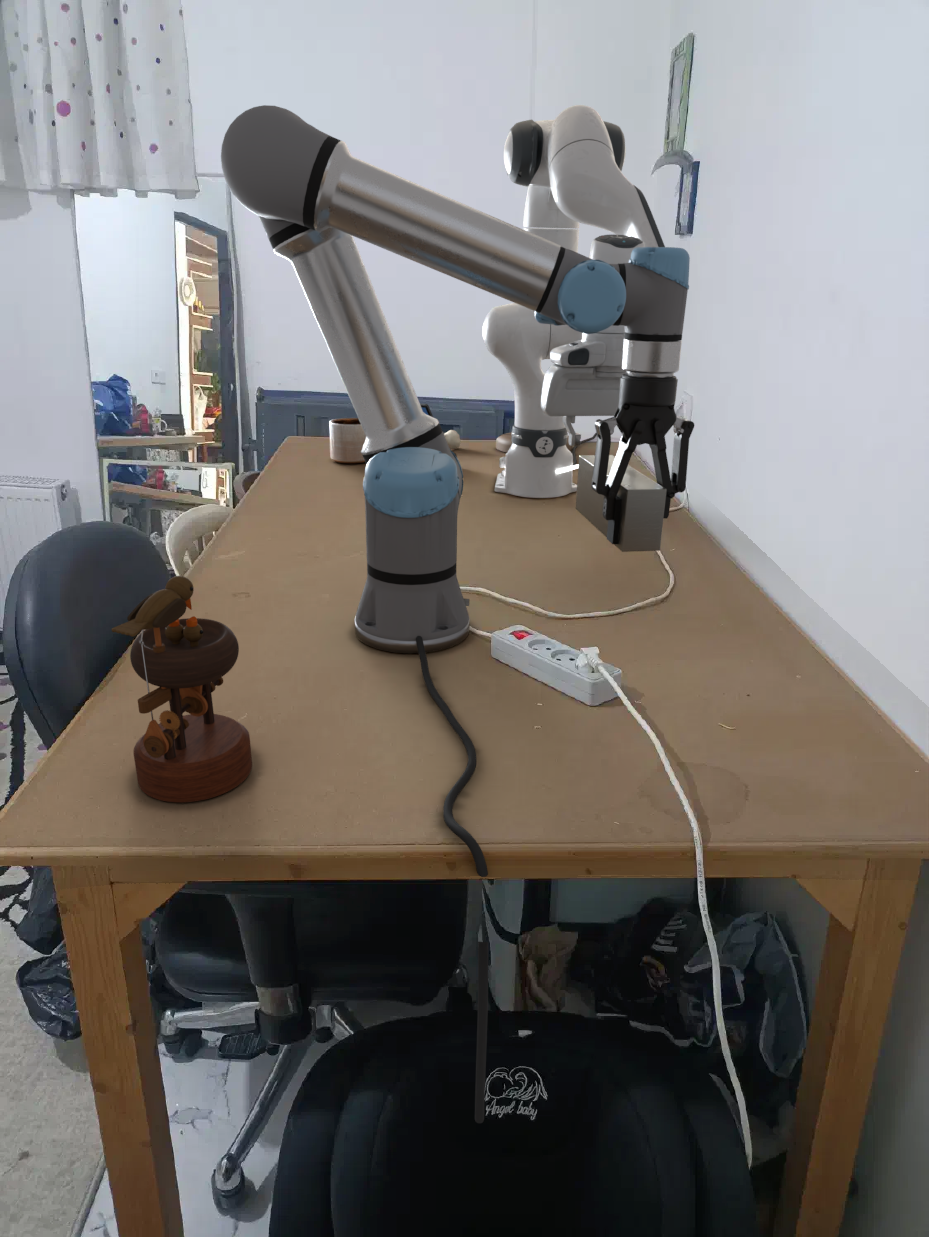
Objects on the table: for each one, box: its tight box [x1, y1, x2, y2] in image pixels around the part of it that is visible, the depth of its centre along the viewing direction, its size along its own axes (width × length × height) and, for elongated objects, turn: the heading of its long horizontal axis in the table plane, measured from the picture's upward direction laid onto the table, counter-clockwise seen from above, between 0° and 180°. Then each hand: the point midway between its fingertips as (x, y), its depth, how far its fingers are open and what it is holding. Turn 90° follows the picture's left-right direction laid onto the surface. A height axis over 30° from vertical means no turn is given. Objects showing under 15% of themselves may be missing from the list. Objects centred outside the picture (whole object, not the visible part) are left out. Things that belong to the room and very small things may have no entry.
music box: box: [111, 575, 253, 803], centre depth 78 cm, size 15×11×20 cm
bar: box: [575, 454, 667, 553], centre depth 127 cm, size 23×6×9 cm, turn 9°
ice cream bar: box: [495, 431, 574, 453], centre depth 224 cm, size 21×28×4 cm
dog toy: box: [443, 429, 462, 450], centre depth 228 cm, size 20×6×5 cm, turn 99°
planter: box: [328, 417, 366, 464], centre depth 212 cm, size 11×11×10 cm
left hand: (633, 540), depth 121 cm, fingers closed on bar, 6 cm apart
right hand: (603, 444), depth 132 cm, fingers open, 8 cm apart
